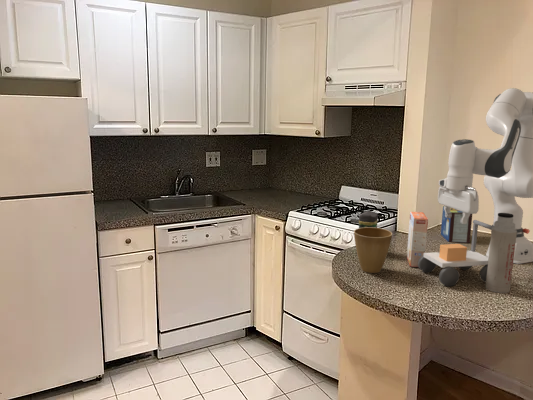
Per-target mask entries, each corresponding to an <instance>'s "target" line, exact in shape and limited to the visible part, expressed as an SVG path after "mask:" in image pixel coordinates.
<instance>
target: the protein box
mask: <svg viewBox="0 0 533 400" xmlns="http://www.w3.org/2000/svg"><path fill="white" fill-rule="evenodd" d="M450 212H451V213H452V217H451V218H446V217H445V210H444V205H442V214H441V225H440V227H441V228H440V235H441V236H442V237H443V238H444V240H446V242H448V243H459V244H460V243H464V244H470V243H471V236H472V235H471V233H472V225H473V224H472V223H473V214H470V216H469V218H468V219H467V223H466V224H462V223H460V218H462V217H463V212H462V211H459V210H456V209H453V208H450Z"/></svg>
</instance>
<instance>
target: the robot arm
mask: <svg viewBox="0 0 533 400" xmlns="http://www.w3.org/2000/svg"><path fill="white" fill-rule="evenodd" d="M485 115H486V116H485V123H486V125H487V126H488V128H489V129H490V130H491V131H492V132H494V134H497V135H500V136H503V137H502V141H501V144H500V147H498V148H495V149H488V148H478V147H477V146H476V143H475V141H474V140H472V139H469V138H468V139H465V138H463V139H457V140H454V141H453V142H452V144H451V146H450V149H449V155H448V161H447V162H448V163H447V165H448V171H447V174H446V177H445V178H443V179H439V180H438V185H439V187H438V190H437V191H438V193H437V202H438V203H439V205H441V206H444V210H445V217H446V218H451V217H452V213H451V212H450V208H453V209H456V210H459V211H462V212H463V217H462V218H460V223H462V224H466V223H467V219H468V218H469V216H470V214H472V215H475V214H478V212H479V209H480V208H479V206H480V205H479V203H480V202H479V193H478V191H477V189H476V188H475V187H473V181H474V175H479V176H484V177H483V185H484V187H485V189H487V191H488V192H489V195H490V197H491V198H492V201H493V208H494V209H493V222H492V223H493V224H492V226H494V223H495V222H496V221H497V220H498V213H509V214H513V223H514V224H515V230H517V235H516V243H515V251H514V260H513V264H515V265H516V264H518V265H519V264H525V263H531V262H533V242H532V241H530V240H529V239H528V238H527V237H526V236H525V234H526V235H528V234H529V233H530V231H531V230H530V229H529V228H523V227H522V224H523V217H524V211H523V208H522V207H521V206H520V205H519V203H518V202H517V200H516V198H522V199H527V198H528V199H533V92H531V91H523V90H521V89H519V88H514V87H513V88H511V87H510V88H507V89H505V90H504V91H502V93H499V94H498V95H497V96H496V97H495V98H494V100H493V102H492V104H491V106H490V108H489V109H488V110H487V113H486V114H485ZM491 231H492V230H490V232H491ZM489 249H490V244H488V248H487V250H486V253H485V256H487V257H489Z"/></svg>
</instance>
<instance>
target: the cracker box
mask: <svg viewBox="0 0 533 400" xmlns="http://www.w3.org/2000/svg"><path fill="white" fill-rule="evenodd" d="M409 213H410V214H409V223H408V235H407V237H408V238H407V245H406V246H407V248H406V259H407V263H408V265H409V267H412V268H414V267H415V268H419V267H418V260H419V259H420V257H421V256H423V255H424V253H426V246H427V245H426V244H427V234H428V226H429V225H428V224H429V218H428V217H427V216H426V214H425V213H424V212H422V211H410V212H409Z"/></svg>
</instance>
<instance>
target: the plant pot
mask: <svg viewBox="0 0 533 400" xmlns="http://www.w3.org/2000/svg"><path fill="white" fill-rule="evenodd" d="M353 236H354V237H353V238H354V244H355V250H356V254H357V259H358V261H359V262H358V263H359V266H360V269H361V270H362V272H365V273H369V274H370V273H371V274H374V273H375V274H376V273H380V272H381V270H382V268H383V266H384V264H385V261H386V259H387V256H388V252H389V249H390V246H391V242H392V237H393V232H392V231H390V230H388V229H386V228H385V229H384V228H380V227H377V228H373V227H365V228H359V227H358V228H356V229H354V230H353Z"/></svg>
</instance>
